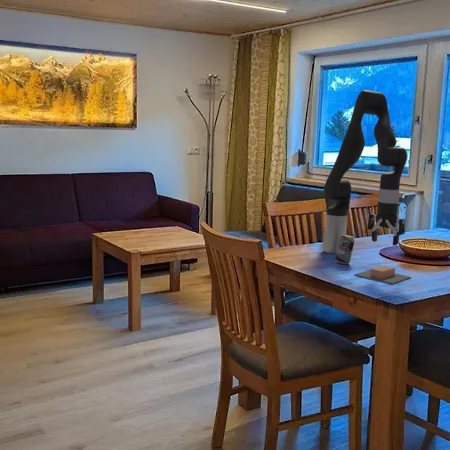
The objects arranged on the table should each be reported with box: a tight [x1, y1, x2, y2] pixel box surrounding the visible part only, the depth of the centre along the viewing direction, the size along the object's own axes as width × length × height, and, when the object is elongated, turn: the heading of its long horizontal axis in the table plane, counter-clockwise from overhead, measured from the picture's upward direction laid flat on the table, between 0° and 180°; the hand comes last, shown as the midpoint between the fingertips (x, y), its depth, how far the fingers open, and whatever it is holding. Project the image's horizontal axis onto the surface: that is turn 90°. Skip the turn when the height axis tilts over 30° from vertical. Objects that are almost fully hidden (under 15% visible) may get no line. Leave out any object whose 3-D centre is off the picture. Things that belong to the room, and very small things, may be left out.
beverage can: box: [335, 234, 355, 265], centre depth 239 cm, size 6×7×12 cm
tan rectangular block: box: [370, 265, 396, 279], centre depth 219 cm, size 9×5×3 cm, turn 132°
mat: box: [354, 269, 412, 285], centre depth 219 cm, size 16×14×1 cm
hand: (384, 243), depth 217 cm, fingers open, 8 cm apart
